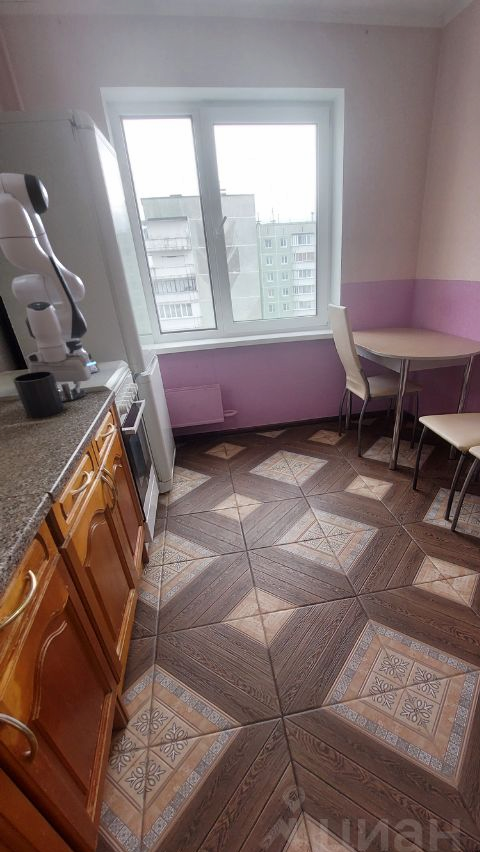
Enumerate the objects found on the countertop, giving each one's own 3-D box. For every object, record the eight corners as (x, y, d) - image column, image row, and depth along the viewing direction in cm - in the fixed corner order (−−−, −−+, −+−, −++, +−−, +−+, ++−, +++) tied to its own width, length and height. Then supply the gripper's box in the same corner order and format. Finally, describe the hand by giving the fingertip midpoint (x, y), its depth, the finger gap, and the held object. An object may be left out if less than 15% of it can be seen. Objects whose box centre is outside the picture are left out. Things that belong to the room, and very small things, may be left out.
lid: (54, 395, 143) (49, 381, 141) (88, 391, 146) (84, 377, 143) (47, 405, 133) (42, 391, 131) (84, 401, 136) (80, 387, 133)
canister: (32, 410, 130) (18, 373, 124) (67, 405, 133) (55, 369, 126) (24, 422, 121) (8, 383, 115) (61, 417, 124) (48, 379, 117)
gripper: (87, 351, 133) (98, 389, 141) (32, 352, 135) (46, 390, 142) (79, 355, 128) (90, 395, 135) (21, 357, 129) (36, 396, 137)
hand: (67, 393), depth 139 cm, fingers open, 6 cm apart
